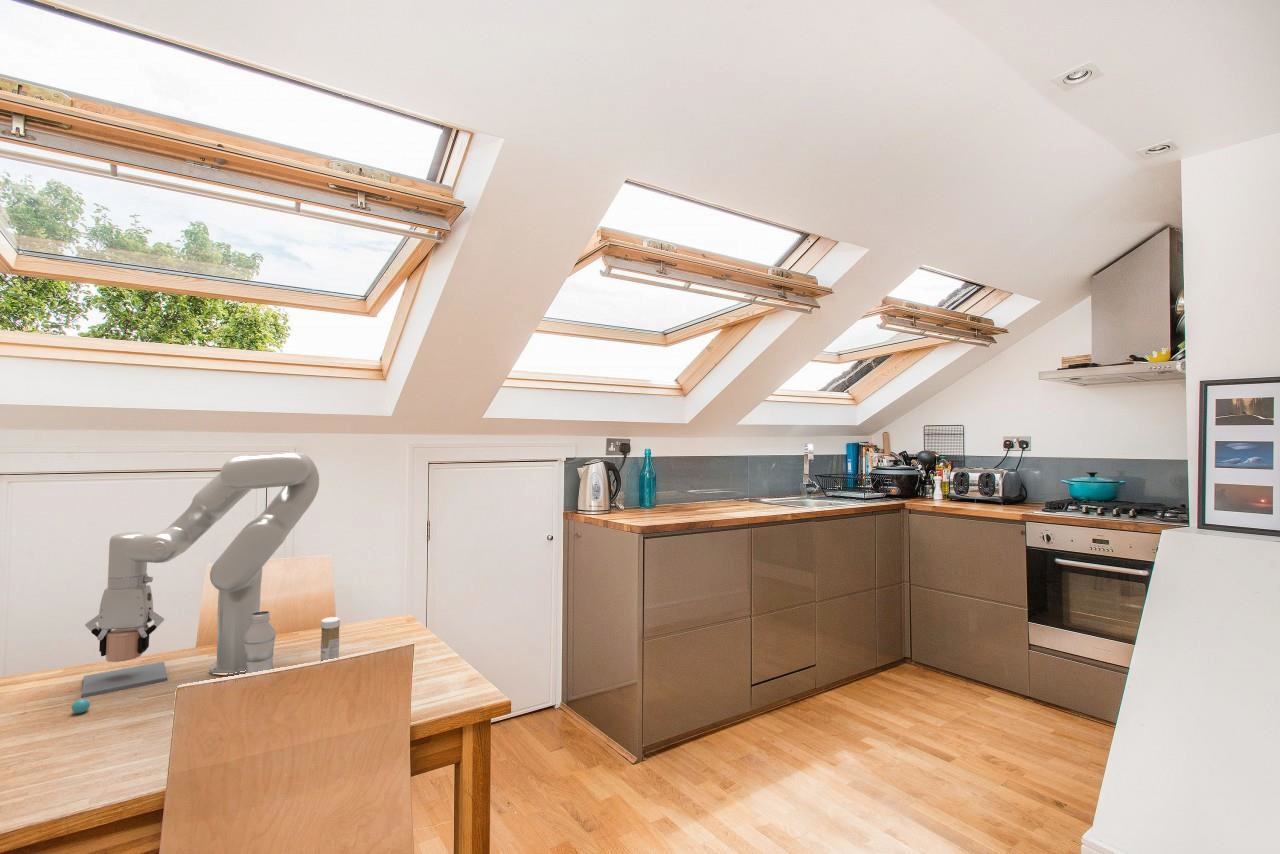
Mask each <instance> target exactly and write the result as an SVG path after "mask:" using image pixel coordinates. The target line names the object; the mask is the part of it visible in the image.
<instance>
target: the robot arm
mask: <svg viewBox="0 0 1280 854" xmlns="http://www.w3.org/2000/svg"><path fill="white" fill-rule="evenodd" d="M278 487H282V489H280V491H279V492H278V494H277V495H276V496H275V497H274V498H273V500H271V502H270V503H269V504H268V505H267V507H266V508H265V509H264V510H263V512H261V513H260V515H258V516H257V517H256V518H255V519H253V520H251V521H250V522H249V523H247V524H246V525H245V527H243V528H242V529H241V530H240V532H239V533H238V534H237V535H236V536H235V538H234V539H233V540H232V541H231V542H230V544H229V545H228V546H227V547H226V549H225V550H224V551H222V553H221V555H220V556H218V558H217V559H216V561H214V563H213V565H212V566H211V568H210V571H209V579H210V580H209V581H210V583H211V585H213V588H215V589H216V590H218V595H217V619H216V620H217V621H216V622H217V624H216V661H214V662H213V663H212V664H210V665H209V668H208V669H209V671H208V672H209V673H210V672H211V673H228V674H227V675H226V676H234V675H240V674H241V675H242V674H246V671H245V670H246V652H245V646H244V636H245V633H246V632H247V630H248V629H249V628H250V626H251V625H252V623H251V615H252V614H253V613H255V612H260V611H261V591H262V590H261V589H262V580H263V579H262V578H263V567H264V566H265V565H266V563H268V561H269V560H270V558H271V557H272V556H273V555H274V553H276V551H277V550H278V549H279V548H280V547H281V545H282V544H283V543H284V541H285V540H286V539H287V537H288V535H289V534H290V533H291V531H292V530H293V528H294V527H295V526H296V525H297V523H298V522H299V521H300V519H301V518H302V517H303V515H304V514H305V513H306V512H307V510H308V509H309V508H310V506H311V505H312V503H314V500H315V498H316V496H317V494H318V491H319V487H320V475H319V471H318V468H317V466H316V464H315V463H314V460H313V459H312V458H310V456H308V455H307V454H305V453H302V452H297V451H296V452H295V451H293V452H289V453H282V454H281V453H280V454H271V455H269V454H268V455H255V456H253V455H238V456H235V457H232V458H230V459H228V460H227V461H226V462H225V463H224V464H223V465H222V467H221V469H220V472H219V473H218V474H217V475H215V476H214V478H212V479H211V480H210V481H209V482H207V483H206V484H205V486H203V487H202V488H201V489H200V490H199V491H198V492H197V493H196V494H195V495H194V496H193V498H192V500H191V504H190V505H189V506H188V507H187V508H186V510H185V511H184V512H183V513H182V514H181V515H180V516H179V517H178V518H176V519H175V521H173V522H172V523H171V524H170V525H169V526H167V527H166V528H165V529H164V530H162V531H160V532H157V533H154V534H146V533H144V532H141V531H137V532H136V531H129V532H121V533H116V534H114V535H112V536H111V537H110V539H109V542H108V543H109V546H108V565H107V569H108V570H107V586H106V587H107V588H105V589H103V594H102V597H101V599H100V603H99V610H98V611H99V612H98V614H97V615H96V616H94V617H93V618H92V619H90V620H88V622H86V623H85V625H84V626H85V628H87V629H88V630H89V631H91V634H92V635H94V636H95V637H96V639H97V640H98V641H99V646H98V647H99V649H98V650H99V652H100V657H104V656H105V657H106V640H107V633H108V632H110V631H112V630H115V629H127V628H137V630H138V631H139V633H140V635H141V637H140V638H139V640H138V653H139V654H142V655H143V654H144V653H145V652H146V651H147V650H148V648H149V646H150V635H151V634H152V633H153V632H155V630H157V628H158V627H159V626H161V624H162V623H163V622H164V621H165V618H164V617H162V616H161V615H159V614H158V613H157V612H156V611H154V600H153V593H152V588H151V585H150V584H149V583H152V582H153V580H154V577H153V576H148V573H147V570H148V569H147V568H148V563H151V564H152V563H153V564H162V563H163V564H164V563H166V562H170V561H171V560H174V559H175V558H177V557H178V556H180V555H182V554H184V553H185V552H186V551H188V549H189V548H191V547H192V545H193V544H195V543H196V542H197V541H198V540H199V539H200V538H201V537H203V535H204V534H205V533H206V532H208V531H209V530H210V529H211V528H212V527H213V526H214V525H215V524H216V523H217V522H218V521H220V520H221V519H222V518H223V517H224V516H225V515H226V514H227V513H228V512H229V511H230V510H231V509H232V508H233V507H234V506H235V505H236V504H237V503H239V502H240V500H242V499H243V498H244V497H245V496H246V495H248V493H250V492H251V491H252V490H256V489H267V488H278ZM152 621H153V624H152V625H149V623H151V622H152ZM240 671H245V672H240ZM235 672H237V673H235ZM211 673H210V674H211ZM229 673H233V674H229ZM223 676H225V675H223Z"/></svg>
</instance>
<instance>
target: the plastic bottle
mask: <svg viewBox="0 0 1280 854" xmlns="http://www.w3.org/2000/svg"><path fill="white" fill-rule="evenodd" d="M270 614H271V613H270V611H269V610H260V612H255V613H253V614H252V615H251V623H252V625H251V626H250V628H249V629H248V630H247V632H246V633H245V636H244V646H245V652H246V673H252V672H258V671H263V670H270V669H273V670H274V647H275V641H276V635H277V633H276V630H275V628H274V627H273V625H272V624H271V623H270V620H271V617H270ZM246 673H245V674H246Z"/></svg>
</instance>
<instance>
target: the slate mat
mask: <svg viewBox="0 0 1280 854" xmlns="http://www.w3.org/2000/svg"><path fill="white" fill-rule="evenodd" d="M165 680H167V681H168V673H167V669H166V665H165V661H159V662H157V661H156V662H152V663H147V664H146V663H145V664H142V665H137V666H130V667H125V668H119V669H115V670H109V671H103V672H98V673H92V674H87V675H83V681H82V690H81V698H87V697H90V696H91V697H92V696H97V695H101V694H102V695H103V694H107V693H111V692H117V691H122V690H126V688H127V689H131V687H132V688H137V687H141V686H148V685H151V684H156V683H160V682H161V681H162V682H166V681H165ZM136 686H137V687H136ZM121 689H122V690H121Z"/></svg>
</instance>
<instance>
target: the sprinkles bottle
mask: <svg viewBox="0 0 1280 854" xmlns="http://www.w3.org/2000/svg"><path fill="white" fill-rule="evenodd" d="M340 627H341V618H340V617H337V616H330V617H329V616H328V617H324V618H323V619H321V621H320V628H321V631H320V632H321V633H320V634H321V639H320V640H321V641H320V662H321V661H323V660H328V659H334V658H338V659H339V657H340Z"/></svg>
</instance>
